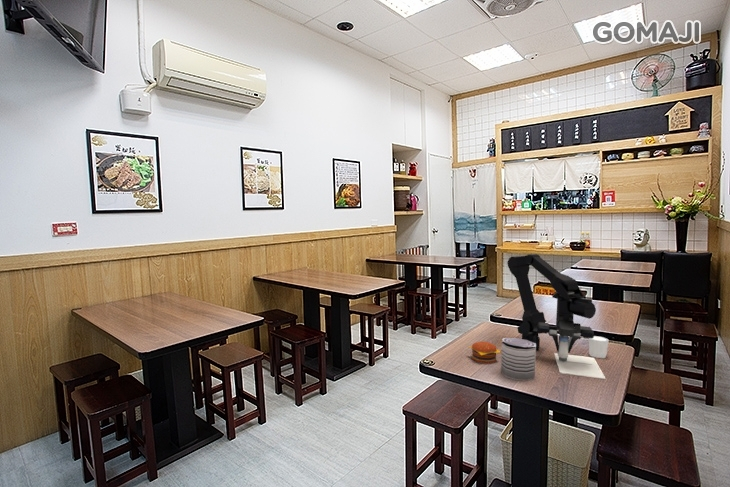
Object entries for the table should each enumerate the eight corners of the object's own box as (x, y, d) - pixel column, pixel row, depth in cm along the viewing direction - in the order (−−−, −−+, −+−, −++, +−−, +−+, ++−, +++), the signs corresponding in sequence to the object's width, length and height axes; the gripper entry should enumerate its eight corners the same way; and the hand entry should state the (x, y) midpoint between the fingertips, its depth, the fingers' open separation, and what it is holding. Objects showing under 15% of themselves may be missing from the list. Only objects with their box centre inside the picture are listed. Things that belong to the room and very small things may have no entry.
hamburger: (486, 353, 156) (486, 337, 155) (501, 362, 147) (502, 345, 146) (466, 356, 153) (466, 340, 152) (480, 365, 144) (481, 348, 143)
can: (493, 370, 139) (494, 338, 138) (517, 365, 144) (518, 333, 143) (518, 383, 129) (519, 348, 128) (542, 377, 133) (544, 343, 132)
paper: (559, 373, 137) (560, 372, 137) (554, 353, 156) (554, 352, 156) (605, 379, 132) (605, 378, 132) (593, 358, 151) (593, 357, 151)
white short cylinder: (610, 359, 150) (611, 341, 149) (591, 358, 151) (592, 340, 150) (603, 353, 156) (604, 336, 156) (585, 351, 158) (586, 335, 157)
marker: (558, 360, 146) (559, 337, 145) (557, 357, 149) (558, 334, 149) (568, 361, 145) (569, 338, 144) (567, 358, 148) (568, 335, 147)
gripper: (539, 314, 141) (537, 356, 143) (597, 319, 135) (595, 363, 136) (537, 307, 152) (536, 346, 153) (591, 312, 145) (589, 352, 147)
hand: (563, 351), depth 147 cm, fingers closed on marker, 3 cm apart
